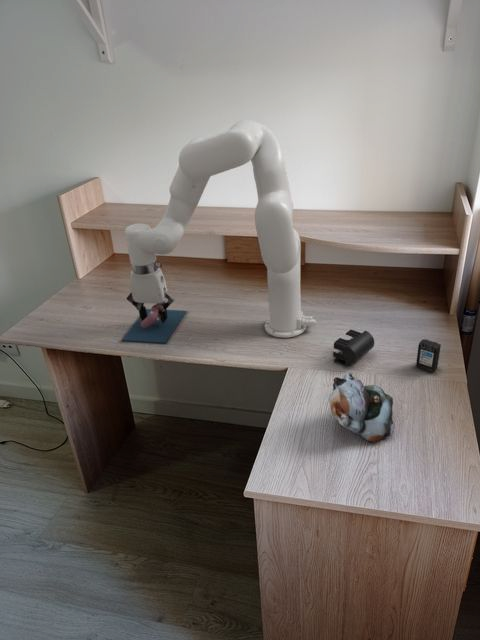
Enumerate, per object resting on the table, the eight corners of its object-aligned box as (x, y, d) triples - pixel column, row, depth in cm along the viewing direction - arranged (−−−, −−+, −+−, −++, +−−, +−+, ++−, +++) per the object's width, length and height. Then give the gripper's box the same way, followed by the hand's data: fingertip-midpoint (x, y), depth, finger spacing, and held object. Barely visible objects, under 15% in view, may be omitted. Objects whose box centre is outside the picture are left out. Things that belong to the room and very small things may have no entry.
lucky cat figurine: (393, 448, 111) (368, 411, 103) (342, 452, 118) (315, 418, 110) (398, 392, 120) (375, 355, 113) (351, 399, 127) (326, 364, 119)
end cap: (354, 371, 137) (356, 349, 133) (332, 362, 141) (332, 341, 137) (373, 354, 143) (375, 333, 139) (351, 346, 147) (352, 325, 143)
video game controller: (152, 334, 159) (158, 316, 155) (138, 327, 159) (144, 310, 155) (163, 318, 167) (169, 301, 163) (150, 312, 167) (156, 295, 163)
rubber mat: (186, 312, 170) (186, 310, 170) (165, 344, 154) (165, 342, 153) (146, 310, 173) (146, 309, 172) (121, 341, 156) (121, 339, 156)
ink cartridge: (415, 367, 136) (418, 342, 132) (419, 363, 138) (422, 338, 134) (433, 373, 134) (437, 347, 129) (437, 369, 135) (441, 343, 131)
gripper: (176, 262, 154) (184, 315, 164) (122, 261, 157) (133, 313, 167) (168, 272, 148) (176, 327, 157) (112, 271, 151) (124, 325, 160)
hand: (154, 319), depth 162 cm, fingers closed on video game controller, 5 cm apart
